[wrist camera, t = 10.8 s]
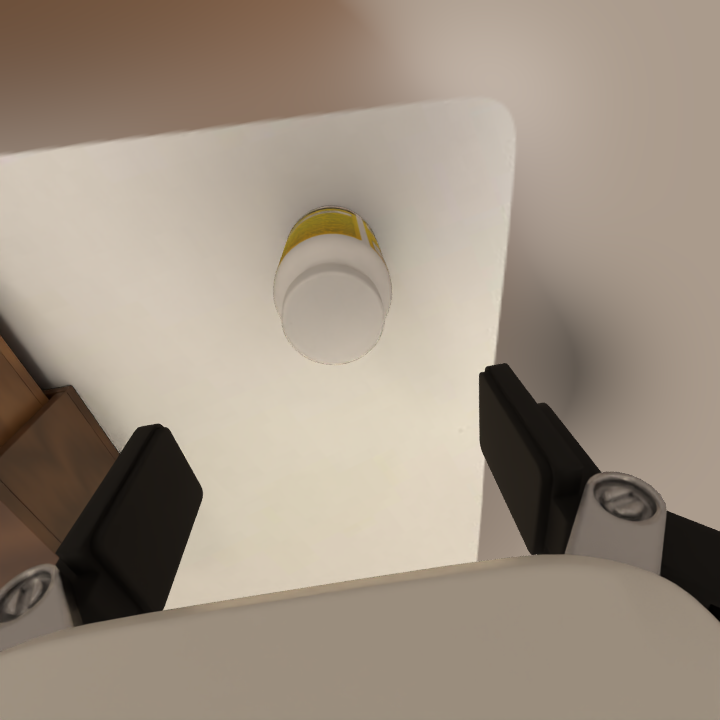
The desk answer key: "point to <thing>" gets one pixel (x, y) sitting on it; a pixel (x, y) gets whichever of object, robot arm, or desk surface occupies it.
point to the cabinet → (48, 480)
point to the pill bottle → (332, 287)
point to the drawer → (16, 394)
